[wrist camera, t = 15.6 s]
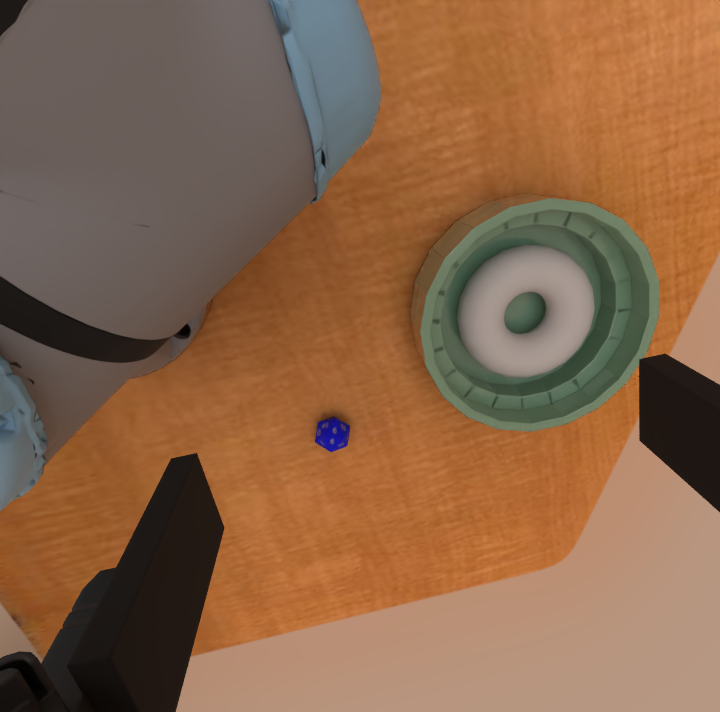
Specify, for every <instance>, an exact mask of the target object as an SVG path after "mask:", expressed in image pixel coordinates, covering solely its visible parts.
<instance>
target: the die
mask: <svg viewBox="0 0 720 712" xmlns="http://www.w3.org/2000/svg"><path fill="white" fill-rule="evenodd" d="M349 431H350V426H349V425H347V424H346V423H344V422H342V421H341V420H339V419H337V418H336V417H332V418H329V419H326V420H322V421H319V422H318V425H317V432H316V439H315V442H316V443H317V444H319V445H320V446H322V447H324V448H325V449H327V450H328V451H330V452H333V451H335V450H338V449H341V448H343V447H346V446H347V444H348V437H349Z"/></svg>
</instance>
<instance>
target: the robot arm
mask: <svg viewBox="0 0 720 712" xmlns="http://www.w3.org/2000/svg"><path fill="white" fill-rule="evenodd" d="M380 102H381V83H380V75H379V69H378V64H377V59H376V55H375V51H374V48H373V44H372V41H371V38H370V35H369V31H368V28H367V26H366V23H365V20H364V17H363V15H362V12H361V10H360V7H359V5H358V2H357V0H0V511H2V510H3V509H4V508H5V507H6V506H7V505H8V504H9V503H10V502H11V501H12V500H15V499H17V498H19V497H21V496H22V495H24V494H26V493H27V492H28V491H29V490H31V489H32V487H33V486H34V485H35V484H36V483H37V481H38V480H39V479H40V477H41V476H42V474H43V469H44V466H45V465H46V464H47V463H48V462H49V460H50V459H51V458H52V457H53V456H54V455H55V454H56V453H57V452H58V451H59V450H60V449H61V447H62V446H63V445H64V444H65V443H66V442H67V441H68V440H69V439H70V438H71V437H72V436H73V435H74V434H75V433H76V432H77V431H78V430H79V429H80V428H81V427H82V426H83V425H84V424H85V423H86V421H87V420H88V419H89V418H90V417H91V416H92V415H93V414H94V413H95V412H96V411H97V410H98V409H99V408H100V407H101V406H102V405H103V404H104V403H105V402H106V401H107V400H108V399H109V398H110V397H111V396H112V395H113V394H114V393H115V392H116V391H117V390H118V389H119V388H120V387H121V386H122V385H123V384H124V383H125V382H126V381H127V380H129V379H131V378H136V377H140V376H144V375H147V374H149V373H152V372H154V371H156V370H158V369H160V368H162V367H164V366H166V365H167V364H169V363H170V362H172V361H173V360H174V359H176V358H177V357H178V356H179V355H180V354H181V353H182V352H183V351H184V350H185V349H186V348H187V347H188V346H189V344H190V343H191V342H192V340H193V339H194V338H195V336H196V335H197V333H198V332H199V330H200V329H201V327H202V325H203V323H204V322H205V320H206V317H207V315H208V312H209V309H210V306H211V302H212V298H213V297H214V296H215V295H216V294H217V293H218V292H219V291H220V290H221V289H222V288H223V287H224V286H225V285H226V284H227V283H228V282H229V281H230V280H231V279H232V278H233V277H234V276H235V275H236V274H237V273H238V272H239V271H240V270H242V269H243V268H244V267H245V266H246V265H247V264H248V263H249V262H250V261H251V260H252V259H253V258H254V257H255V256H256V255H257V254H258V253H259V252H260V251H261V250H262V249H263V248H264V247H265V246H266V245H267V244H268V243H269V242H270V241H271V240H272V239H273V238H274V237H275V236H276V235H277V234H278V233H279V232H280V231H281V230H282V229H283V228H284V227H285V226H286V225H287V224H288V223H289V222H290V221H291V220H292V219H293V218H294V217H295V216H296V215H297V214H298V213H299V212H300V211H302V210H303V209H304V208H305V207H306V206H307V205H308V204H314V203H316V202H317V201H318V200H319V199H320V198H321V197H322V194H323V192H325V191H326V188H327V184H328V182H329V181H330V179H331V178H332V177H333V176H334V175H335V174H336V173H337V172H338V171H339V170H340V169H341V167H342V166H343V165H344V164H345V163H346V162H347V161H348V160H349V159H350V158H351V157H352V156H353V154H354V153H355V152H356V151H357V150H358V149H359V148H360V147H361V146H362V145H363V144H364V142H365V141H366V140H367V139H368V137H369V136H370V133H371V132H372V129H373V127H374V124H375V121H376V116H377V113H378V111H379V109H380ZM639 422H640V424H639V425H640V426H639V427H640V441H641V442H642V443H643V444H644V445H645V446H646V447H647V448H649V449H650V450H651V451H652V452H653V453H654V454H655V455H656V456H657V457H659V458H660V459H661V460H662V461H663V462H664V463H665V464H666V465H668V466H669V467H670V468H671V469H672V470H673V471H674V472H675V473H676V474H678V475H679V476H680V477H681V478H682V479H683V480H684V481H685V482H687V483H688V484H689V485H690V486H691V487H692V488H693V489H694V490H695V491H697V492H698V493H699V494H700V495H701V496H702V497H703V498H705V499H706V500H707V501H708V502H709V503H710V504H711V505H712V506H713V507H715V508H716V509H717V510H718V511H719V512H720V385H719V384H717V383H715V382H714V381H712V380H710V379H708V378H707V377H705V376H703V375H701V374H700V373H698V372H696V371H695V370H693V369H691V368H689V367H688V366H686V365H684V364H682V363H680V362H679V361H677V360H675V359H674V358H672V357H670V356H668V355H667V354H662V355H657V356H652V357H648V358H643V359H639ZM223 531H224V525H223V523H222V520H221V517H220V515H219V512H218V509H217V506H216V504H215V501H214V498H213V496H212V493H211V490H210V487H209V485H208V482H207V479H206V477H205V474H204V471H203V469H202V466H201V463H200V460H199V458H198V455H197V453H195V454H190V455H186V456H181V457H176V458H172V459H171V460H170V462H169V464H168V466H167V468H166V470H165V472H164V474H163V476H162V478H161V480H160V482H159V484H158V486H157V488H156V490H155V492H154V494H153V496H152V498H151V500H150V502H149V504H148V506H147V508H146V510H145V512H144V514H143V516H142V518H141V520H140V522H139V523H138V525H137V527H136V529H135V531H134V533H133V535H132V537H131V539H130V541H129V543H128V545H127V547H126V549H125V551H124V553H123V555H122V557H121V559H120V561H119V563H118V565H117V567H116V568H112V569H107V570H102V571H100V572H99V573H98V574H97V575H96V576H95V577H94V578H93V579H92V580H91V581H90V582H89V583H88V584H87V585H86V586H85V587H84V588H83V590H82V591H81V593H80V595H79V597H78V599H77V600H76V602H75V604H74V606H73V608H72V612H71V613H69V615H68V617H67V618H66V620H65V622H64V624H63V629H60V631H59V633H58V634H57V636H56V638H55V640H54V642H53V643H52V645H51V647H50V649H49V651H48V652H47V654H46V656H45V658H44V660H43V661H42V663H40V662H39V660H38V658H37V657H35V655H33V654H32V653H31V652H16V653H14V654H10V655H7V656H4V657H2V658H0V712H176V708H177V704H178V701H179V697H180V693H181V689H182V686H183V682H184V678H185V674H186V671H187V667H188V663H189V659H190V656H191V652H192V648H193V644H194V641H195V637H196V633H197V629H198V626H199V622H200V618H201V614H202V610H203V607H204V603H205V599H206V595H207V592H208V588H209V584H210V580H211V577H212V573H213V569H214V565H215V562H216V558H217V554H218V550H219V547H220V543H221V539H222V535H223Z"/></svg>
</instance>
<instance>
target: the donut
mask: <svg viewBox="0 0 720 712" xmlns="http://www.w3.org/2000/svg"><path fill="white" fill-rule="evenodd" d="M526 292H535V293H538V294H540V295H541V296H542V297H543V299H544V301H545V306H546V311H545V316H544V317H543V319H542V321H541V323H540V324H539V325H538V326H537V327H536V328H535V329H533V330H531V331H530V332H527V333H523V334H518V333H513V332H511V331H510V330H509V329H507V327H506V326H505V322H504V314H505V310H506V308H507V306H508V304H509V303H510V302H511V301H512V300H513V298H515V297H516V296H518V295H520V294H522V293H526ZM594 311H595V306H594V295H593V287H592V285H591V283H590V281H589V278H588V276H587V274H586V272H585V270H584V269H583V268H582V267H581V266H580V265H579V264H578V263H577V262H576V261H575V260H574V259H573V258H572V257H571V256H570V255H568V254H567V253H565V252H562V251H560V250H558V249H555V248H553V247H551V246H545V245H528V244H524V245H520V246H517V247H513V248H509V249H505V250H502V251H501V252H499V253H497V254H496V255H494V256H493V257H491V258H489V259H488V260H486V261H485V262H483V263H482V265H481V266H480V267H479V268H478V269H477V270H476V271H475V272H474V273H473V275H472V276H471V277H470V278H469V279H468V282H467V284H466V286H465V288H464V290H463V292H462V294H461V296H460V299H459V307H458V314H457V322H458V327H459V332H460V337H461V341H462V342H463V344H464V346H465V347H466V349H467V351H468V353H469V354H470V356H471V357H472V358H473V359H474V360H476V361H477V362H478V363H479V364H480V365H482V366H483V367H484V368H485V369H487V370H488V371H491V372H494V373H497V374H500V375H502V376H505V377H522V378H527V377H531V376H535V375H539V374H543V373H547V372H549V371H551V370H552V369H554V368H556V367H558V366H559V365H561V364H563V363H565V362H566V361H567V360H568V359H569V358H570V357H571V356H572V355H573V354H574V353H575V352H576V351H577V350H578V349H579V348H580V346H581V345H582V343H583V341H584V339H585V338H586V336H587V334H588V332H589V331H590V328H591V323H592V319H593V315H594Z"/></svg>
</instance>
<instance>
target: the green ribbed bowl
mask: <svg viewBox="0 0 720 712" xmlns="http://www.w3.org/2000/svg"><path fill="white" fill-rule="evenodd" d="M524 244H528V245H545V246H551V247H553V248H555V249H558V250H560V251H562V252H565V253H567V254H568V255H570V256H571V257H572V258H573V259H574V260H575V261H576V262H577V263H578V264H579V265H580V266H581V267H582V268H583V269H584V270H585V272H586V274H587V276H588V278H589V281H590V283H591V285H592V287H593V295H594V306H595V311H594V315H593V319H592V323H591V328H590V331H589V332H588V334H587V336H586V338H585V339H584V341H583V343H582V345H581V346H580V348H579V349H578V350H577V351H576V352H575V353H574V354H573V355H572V356H571V357H570V358H569V359H568V360H567V361H566V362H565V363H563V364H561V365H559V366H558V367H556V368H554V369H552V370H551V371H549V372H547V373H543V374H539V375H535V376H531V377H527V378H522V377H505V376H502V375H500V374H497V373H494V372H491V371H488V370H487V369H485V368H484V367H483V366H482V365H480V364H479V363H478V362H477V361H476V360H474V359H473V358H472V357H471V356H470V354H469V353H468V351H467V349H466V347H465V346H464V344H463V342H462V341H461V337H460V332H459V327H458V322H457V314H458V307H459V299H460V296H461V294H462V292H463V290H464V288H465V286H466V284H467V282H468V279H469V278H470V277H471V276H472V275H473V273H474V272H475V271H476V270H477V269H478V268H479V267H480V266H481V265H482V263H483V262H485V261H486V260H488V259H489V258H491V257H493V256H494V255H496V254H497V253H499V252H501V251H502V250H505V249H509V248H513V247H517V246H520V245H524ZM545 311H546V306H545V301H544V299H543V297H542V296H541V295H540V294H538V293H535V292H526V293H522V294H520V295H518V296H516V297H515V298H513V300H512V301H511V302H510V303H509V304H508V306H507V308H506V310H505V314H504V322H505V326H506V327H507V329H509V330H510V331H511V332H513V333H518V334H523V333H527V332H530V331H531V330H533V329H535V328H536V327H537V326H538V325H539V324H540V323H541V321H542V319H543V317H544V316H545ZM410 317H411V323H412V329H413V334H414V340H415V346H416V348H417V350H418V352H419V354H420V356H421V358H422V360H423V362H424V364H425V366H426V368H427V370H428V372H429V374H430V375H431V377H432V379H433V381H434V382H435V384H436V386H437V388H438V390H439V391H440V393H441V395H442V396H443V397H444V398H445V399H446V400H447V401H449V402H450V403H451V404H452V405H453V406H454V407H456V408H457V409H458V410H459V411H460V412H461V413H463V414H464V415H465V416H466V417H468V418H471V419H473V420H476V421H478V422H481V423H483V424H486V425H488V426H491V427H493V428H496V429H501V430H515V431H529V432H531V431H537V430H542V429H546V428H551V427H556V426H561V425H565V424H568V423H570V422H572V421H574V420H576V419H578V418H580V417H582V416H584V415H586V414H588V413H590V412H592V411H594V410H596V409H598V407H600V406H601V405H602V404H603V403H605V402H606V401H607V400H608V399H609V398H610V397H611V396H613V395H614V394H615V393H616V392H617V391H618V390H619V389H620V388H622V387H623V386H624V385H625V384H626V383H627V382H628V380H629V379H630V377H631V376H632V374H633V373H634V371H635V370H636V368H637V367H638V365H639V359H643V358H644V356H645V355H646V352H648V349H649V345H650V342H651V339H652V336H653V333H654V330H655V327H656V324H657V321H658V317H659V280H658V277H657V274H656V271H655V268H654V265H653V262H652V259H651V256H650V254H649V251H648V248H647V247H646V245H645V244H644V243H643V242H642V241H641V239H640V238H639V237H638V236H637V235H636V234H635V232H634V231H633V230H632V229H631V228H630V227H629V225H628V224H627V223H626V222H625V221H624V220H623V219H621V218H619V217H617V216H616V215H614V214H612V213H610V212H608V211H606V210H604V209H602V208H600V207H598V206H596V205H595V204H593V203H590V202H584V201H578V200H572V199H566V198H560V197H552V196H544V195H535V194H522V195H517V196H513V197H508V198H503V199H499V200H494V201H491V202H488V203H486V204H485V205H483V206H481V207H479V208H478V209H476V210H474V211H472V212H471V213H469V214H467V215H465V216H464V217H462V218H460V219H458V221H456V222H455V223H454V224H453V225H452V226H451V227H450V228H449V230H448V231H447V232H446V233H445V234H444V235H443V236H442V237H441V238H440V239H439V240H438V241H437V242H436V243H435V244H434V246H433V247H432V248H431V249H430V251H429V253H428V255H427V257H426V259H425V261H424V264H423V266H422V268H421V270H420V272H419V274H418V276H417V278H416V281H415V285H414V291H413V298H412V304H411V311H410Z"/></svg>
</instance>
